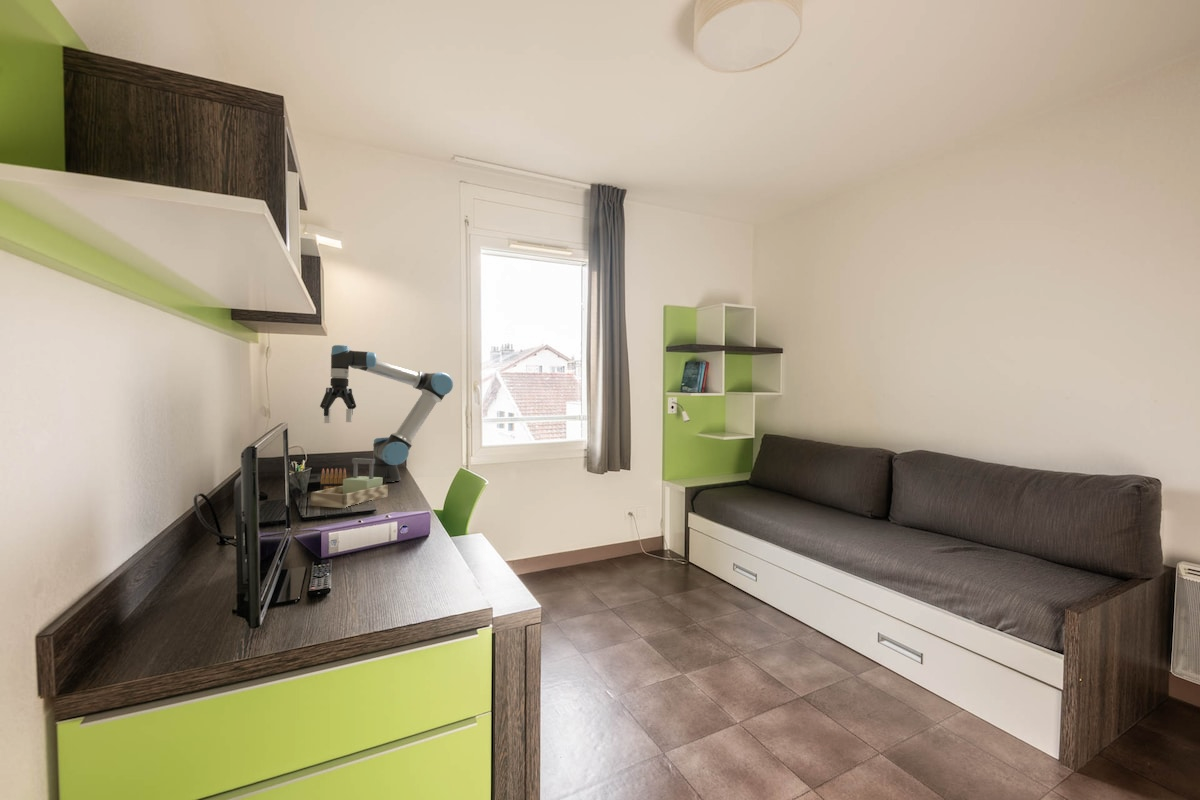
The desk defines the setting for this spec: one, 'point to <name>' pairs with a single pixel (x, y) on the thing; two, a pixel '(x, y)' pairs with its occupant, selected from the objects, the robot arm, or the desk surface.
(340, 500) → the bay
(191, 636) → the desk surface
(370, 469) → the green panel with handle
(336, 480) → the ammunition clip
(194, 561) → the desk surface
